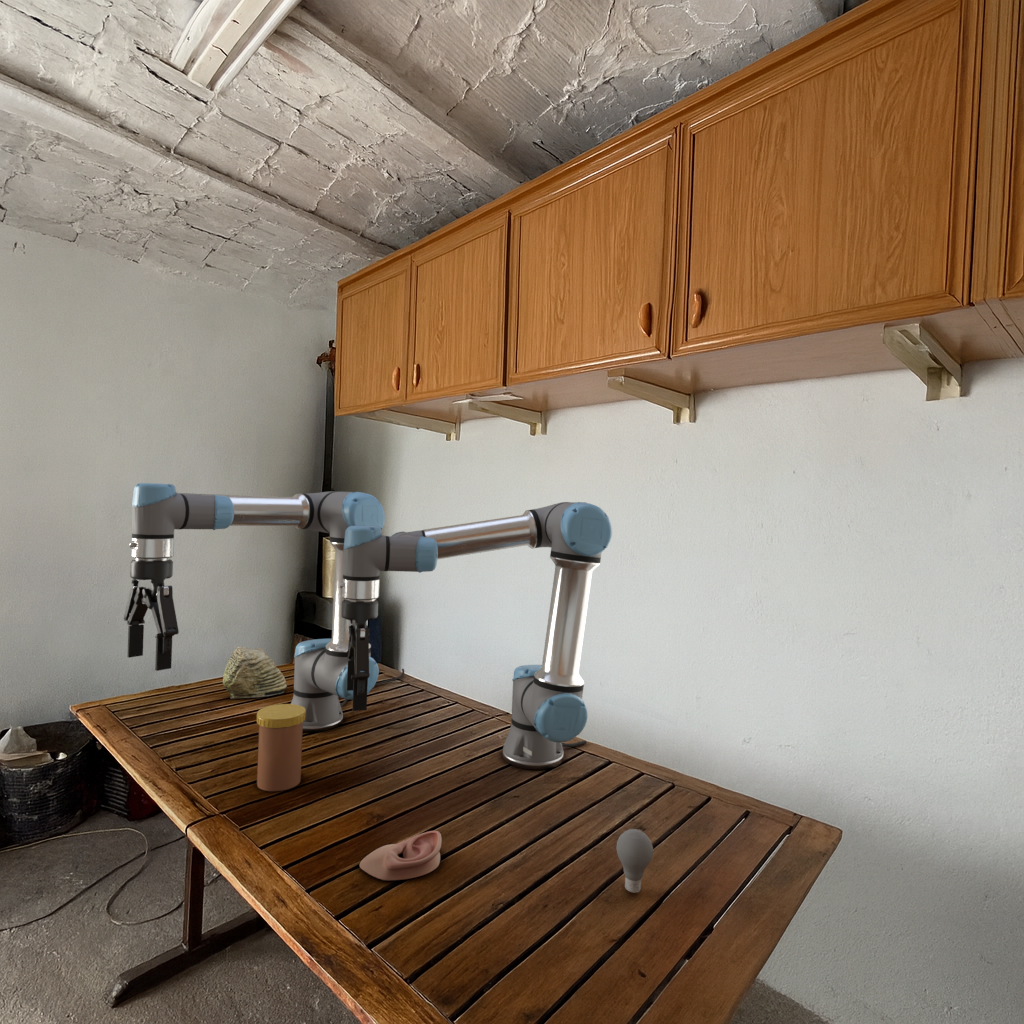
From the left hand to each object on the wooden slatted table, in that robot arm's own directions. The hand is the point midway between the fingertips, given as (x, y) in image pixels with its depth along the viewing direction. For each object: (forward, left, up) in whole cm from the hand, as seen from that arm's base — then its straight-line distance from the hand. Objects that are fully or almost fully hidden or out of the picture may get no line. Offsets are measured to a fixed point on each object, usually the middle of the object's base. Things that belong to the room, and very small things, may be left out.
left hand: (148, 662), depth 129 cm
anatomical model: (-20, +56, -28) cm, 66 cm away
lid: (-23, +12, -13) cm, 29 cm away
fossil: (-50, -47, -28) cm, 74 cm away
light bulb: (-41, +90, -28) cm, 103 cm away
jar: (-23, +12, -28) cm, 38 cm away
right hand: (-29, +30, -7) cm, 42 cm away
